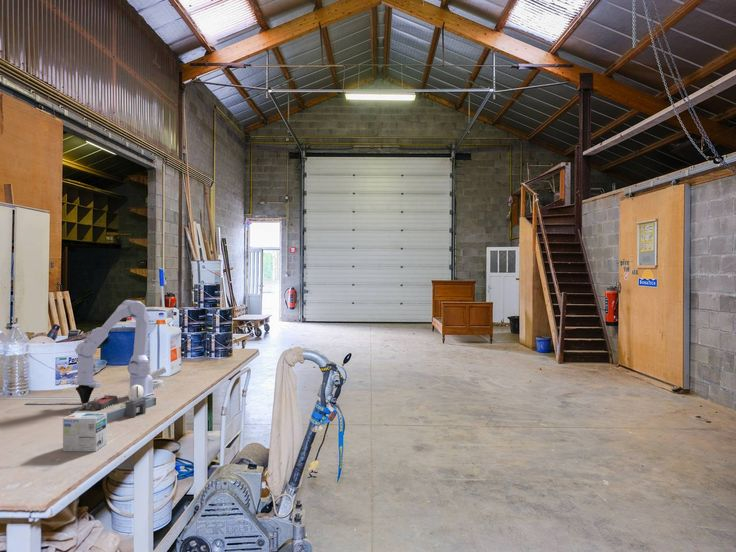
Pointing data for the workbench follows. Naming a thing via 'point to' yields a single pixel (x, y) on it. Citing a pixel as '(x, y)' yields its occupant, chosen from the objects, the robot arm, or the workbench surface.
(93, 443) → the light bulb box
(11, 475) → the workbench surface
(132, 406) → the centring jig
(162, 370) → the wall hook
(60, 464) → the workbench surface
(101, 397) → the walkie-talkie
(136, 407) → the gauge plunger
